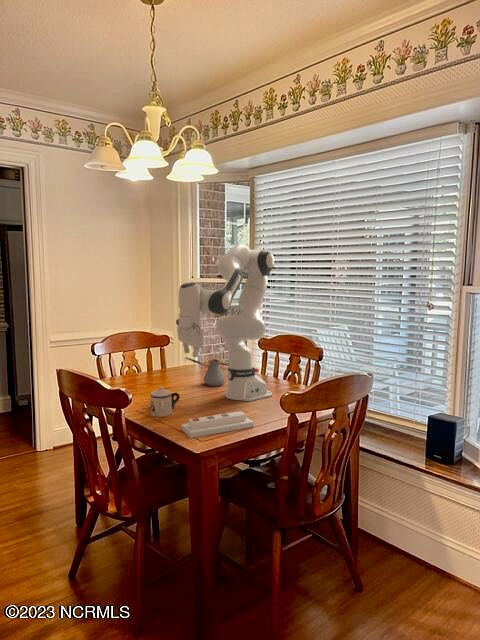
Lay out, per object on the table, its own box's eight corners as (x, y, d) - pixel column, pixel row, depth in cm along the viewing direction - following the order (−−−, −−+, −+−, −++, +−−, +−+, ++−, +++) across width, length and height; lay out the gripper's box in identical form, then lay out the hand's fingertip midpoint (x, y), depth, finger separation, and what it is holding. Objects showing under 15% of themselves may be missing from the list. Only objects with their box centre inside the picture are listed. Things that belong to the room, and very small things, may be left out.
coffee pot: (224, 381, 247) (224, 354, 245) (226, 387, 236) (225, 358, 234) (185, 382, 245) (184, 355, 243) (184, 388, 234) (184, 359, 232)
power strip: (240, 421, 182) (240, 409, 182) (245, 424, 178) (245, 412, 178) (189, 430, 173) (188, 417, 172) (193, 434, 169) (193, 421, 168)
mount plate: (242, 419, 186) (242, 414, 185) (253, 426, 177) (253, 421, 176) (181, 429, 174) (181, 424, 174) (190, 437, 165) (190, 432, 165)
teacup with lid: (150, 411, 196) (149, 385, 195) (171, 409, 198) (170, 383, 197) (151, 420, 184) (150, 392, 183) (173, 418, 186) (173, 391, 185)
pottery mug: (158, 413, 195) (151, 395, 197) (156, 416, 204) (149, 399, 206) (184, 402, 200) (177, 385, 202) (180, 406, 208) (174, 389, 210)
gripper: (207, 324, 180) (207, 358, 182) (188, 318, 198) (189, 350, 200) (192, 325, 177) (193, 360, 179) (174, 319, 195) (175, 351, 197)
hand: (190, 354), depth 190 cm, fingers open, 8 cm apart
